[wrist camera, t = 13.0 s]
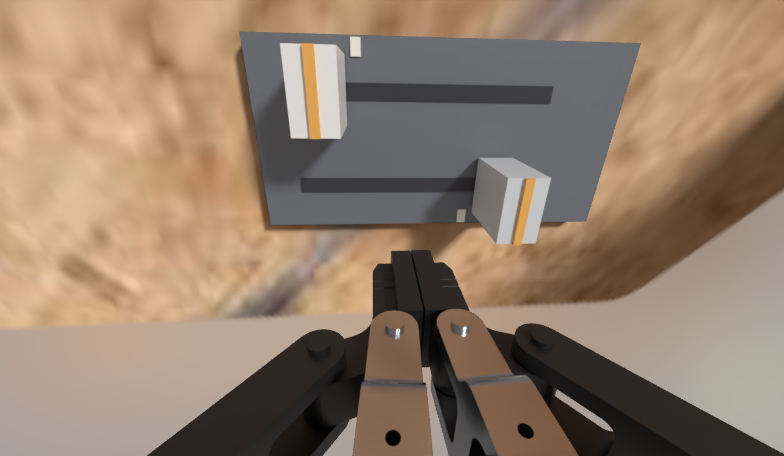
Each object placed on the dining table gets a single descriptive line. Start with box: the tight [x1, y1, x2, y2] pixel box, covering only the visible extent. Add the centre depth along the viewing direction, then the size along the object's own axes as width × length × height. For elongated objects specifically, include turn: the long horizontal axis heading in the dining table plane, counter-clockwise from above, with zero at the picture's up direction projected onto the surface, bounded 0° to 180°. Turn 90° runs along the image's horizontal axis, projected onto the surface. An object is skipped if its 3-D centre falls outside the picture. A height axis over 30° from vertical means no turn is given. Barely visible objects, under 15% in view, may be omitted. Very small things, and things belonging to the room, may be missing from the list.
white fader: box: [280, 43, 347, 139], centre depth 17 cm, size 2×4×5 cm, turn 179°
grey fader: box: [471, 158, 551, 245], centre depth 20 cm, size 2×4×5 cm, turn 179°
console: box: [240, 32, 641, 225], centre depth 22 cm, size 24×12×2 cm, turn 89°
